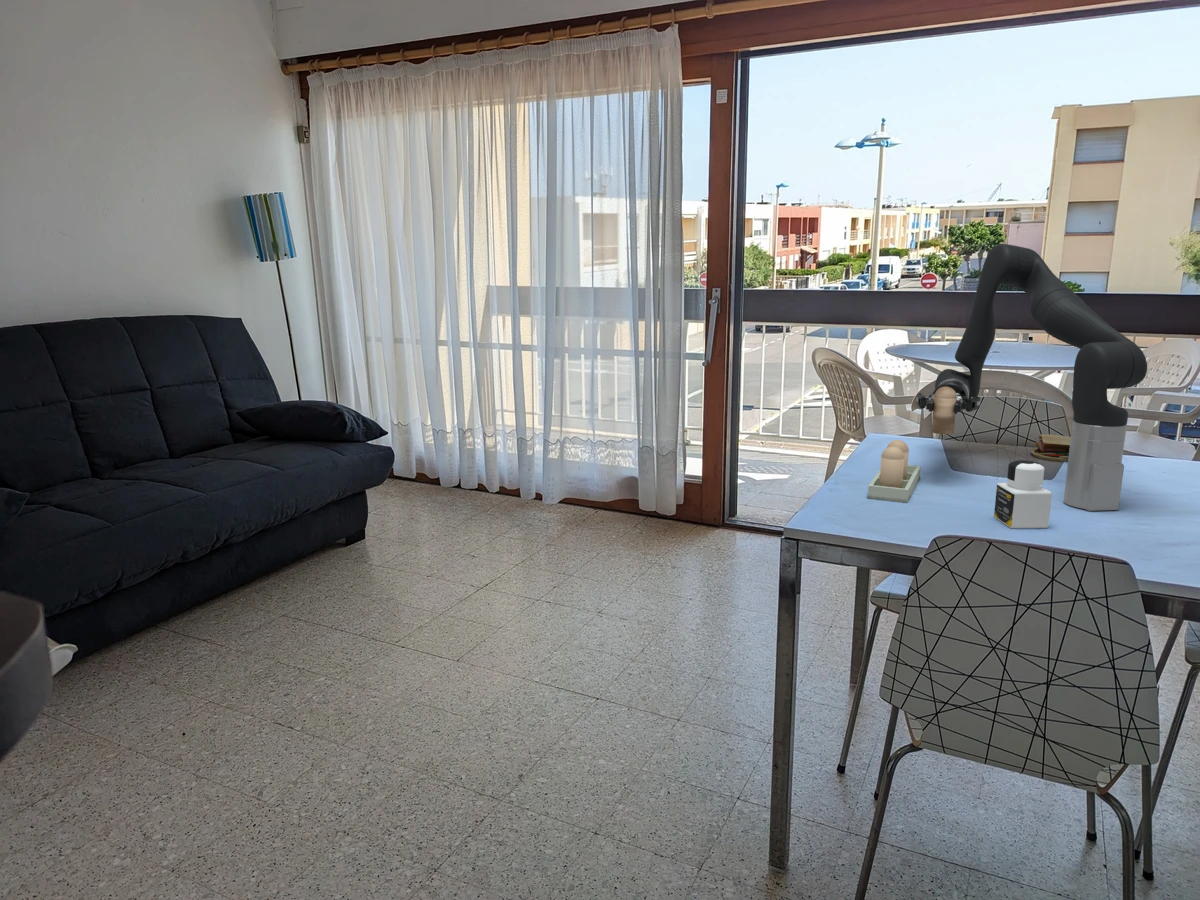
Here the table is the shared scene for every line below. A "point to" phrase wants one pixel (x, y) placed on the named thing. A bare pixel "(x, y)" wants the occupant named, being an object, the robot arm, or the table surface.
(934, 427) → the round-topped wooden peg
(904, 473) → the compartment tray
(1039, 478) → the medicine bottle
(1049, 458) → the toy sandwich meal
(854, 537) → the table surface
